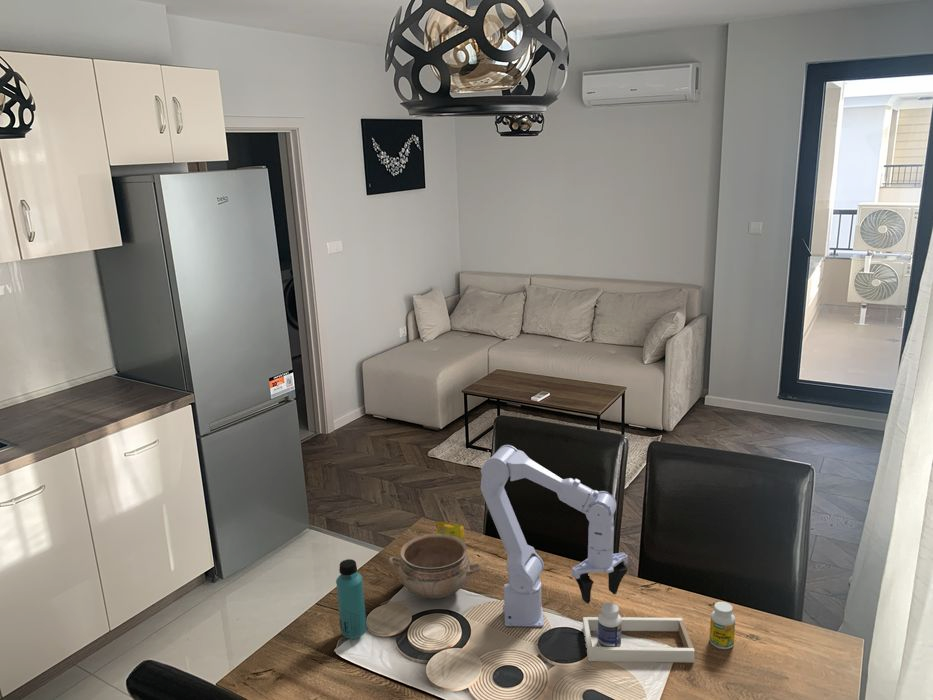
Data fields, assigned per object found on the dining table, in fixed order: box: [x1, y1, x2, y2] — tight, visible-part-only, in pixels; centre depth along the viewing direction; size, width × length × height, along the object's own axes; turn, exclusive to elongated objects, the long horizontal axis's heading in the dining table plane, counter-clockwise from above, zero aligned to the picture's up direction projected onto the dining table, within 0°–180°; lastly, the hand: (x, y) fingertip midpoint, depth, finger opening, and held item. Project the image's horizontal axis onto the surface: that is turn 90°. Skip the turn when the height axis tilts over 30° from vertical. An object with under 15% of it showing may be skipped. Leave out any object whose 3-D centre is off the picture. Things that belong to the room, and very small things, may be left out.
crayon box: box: [436, 520, 466, 544], centre depth 203 cm, size 7×3×12 cm, turn 69°
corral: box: [582, 616, 696, 663], centre depth 164 cm, size 24×12×3 cm, turn 87°
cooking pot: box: [388, 533, 482, 600], centre depth 187 cm, size 25×19×12 cm
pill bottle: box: [597, 602, 622, 647], centre depth 164 cm, size 5×5×10 cm
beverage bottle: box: [335, 558, 368, 639], centre depth 169 cm, size 6×7×20 cm
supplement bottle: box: [709, 601, 736, 650], centre depth 163 cm, size 5×5×10 cm
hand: (599, 596), depth 166 cm, fingers open, 7 cm apart
